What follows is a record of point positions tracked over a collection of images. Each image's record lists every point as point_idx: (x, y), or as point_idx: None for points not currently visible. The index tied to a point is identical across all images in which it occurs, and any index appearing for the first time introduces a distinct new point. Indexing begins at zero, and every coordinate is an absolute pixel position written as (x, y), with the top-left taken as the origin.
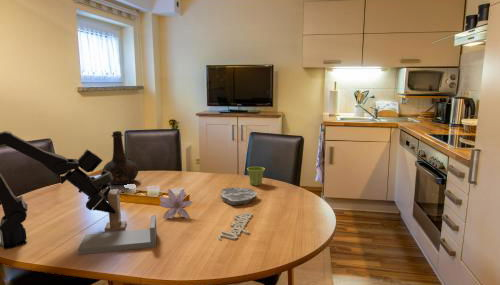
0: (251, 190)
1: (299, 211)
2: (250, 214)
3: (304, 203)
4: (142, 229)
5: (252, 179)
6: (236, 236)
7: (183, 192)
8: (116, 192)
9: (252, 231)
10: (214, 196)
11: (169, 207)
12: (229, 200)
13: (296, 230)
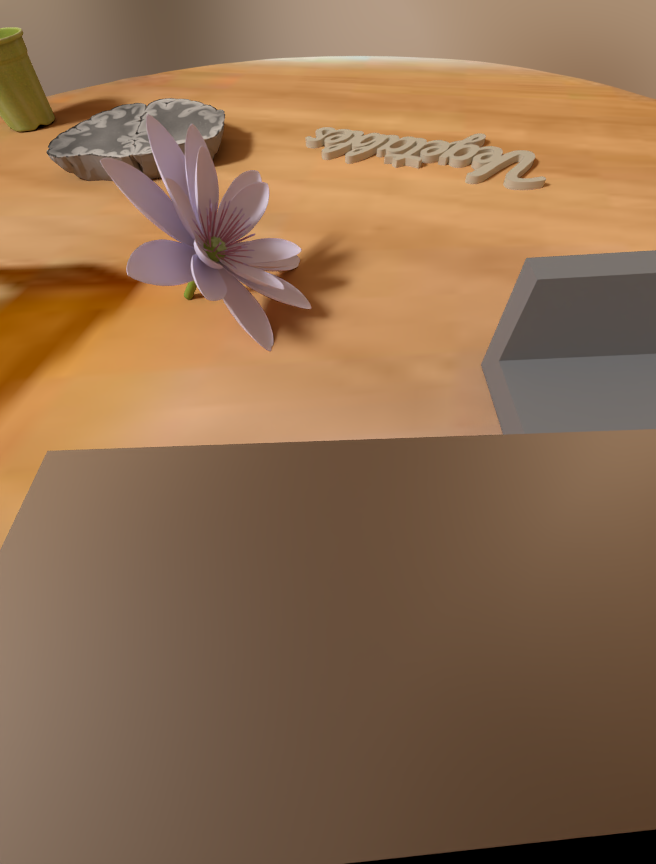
0: (132, 106)
1: (327, 80)
2: (331, 129)
3: (272, 73)
4: (519, 408)
5: (23, 96)
6: (521, 151)
7: (186, 134)
8: (473, 459)
9: (462, 136)
10: (71, 200)
11: (215, 282)
12: None
13: (457, 87)
